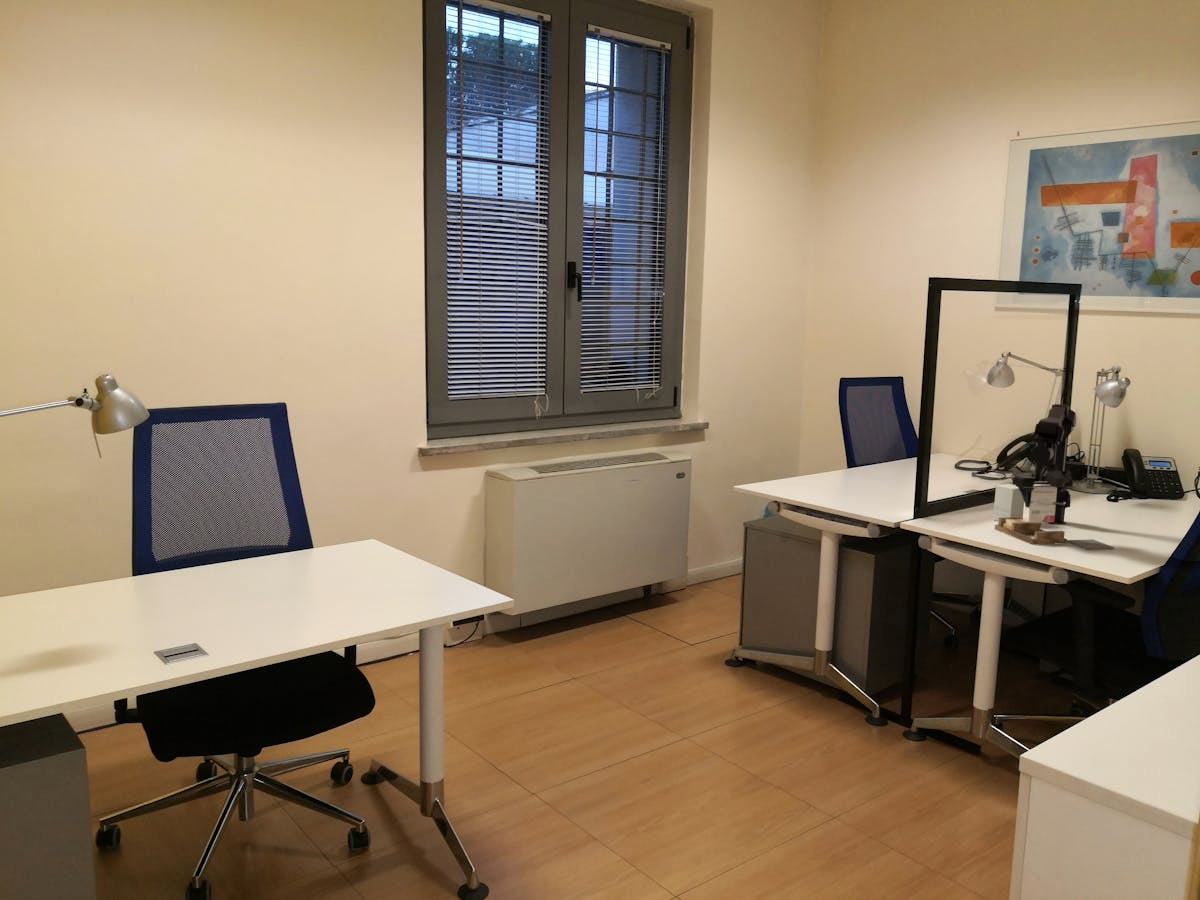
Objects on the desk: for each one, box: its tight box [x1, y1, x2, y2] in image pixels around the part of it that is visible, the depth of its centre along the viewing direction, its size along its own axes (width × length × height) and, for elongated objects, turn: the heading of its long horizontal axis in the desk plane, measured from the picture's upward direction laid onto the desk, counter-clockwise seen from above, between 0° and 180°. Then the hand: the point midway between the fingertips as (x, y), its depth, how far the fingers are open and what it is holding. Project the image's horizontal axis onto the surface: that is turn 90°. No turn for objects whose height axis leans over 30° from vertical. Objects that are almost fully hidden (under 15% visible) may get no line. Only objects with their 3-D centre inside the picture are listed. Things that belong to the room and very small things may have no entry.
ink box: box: [1023, 484, 1057, 523], centre depth 319 cm, size 9×5×12 cm, turn 91°
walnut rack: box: [994, 517, 1068, 545], centre depth 323 cm, size 12×20×4 cm, turn 12°
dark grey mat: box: [1067, 538, 1116, 551], centre depth 314 cm, size 10×10×1 cm
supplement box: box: [992, 483, 1024, 522], centre depth 344 cm, size 7×7×13 cm
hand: (1040, 506), depth 318 cm, fingers closed on ink box, 9 cm apart
